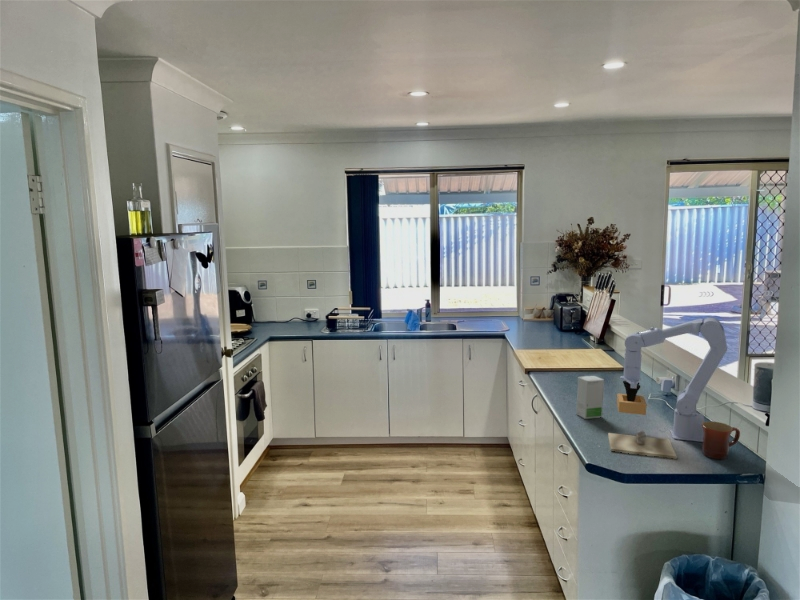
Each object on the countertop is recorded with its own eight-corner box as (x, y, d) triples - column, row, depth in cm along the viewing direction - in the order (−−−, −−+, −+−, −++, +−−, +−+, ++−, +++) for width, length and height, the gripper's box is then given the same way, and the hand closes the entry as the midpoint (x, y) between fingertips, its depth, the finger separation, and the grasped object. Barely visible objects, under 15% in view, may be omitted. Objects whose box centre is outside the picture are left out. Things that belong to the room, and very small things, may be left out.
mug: (709, 462, 170) (712, 431, 168) (693, 450, 178) (696, 421, 177) (746, 461, 170) (748, 431, 169) (728, 449, 179) (731, 420, 177)
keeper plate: (668, 442, 185) (670, 426, 184) (676, 459, 172) (677, 442, 171) (608, 435, 191) (608, 420, 190) (610, 451, 178) (611, 435, 177)
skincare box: (584, 419, 207) (586, 381, 204) (574, 413, 213) (576, 376, 211) (603, 417, 209) (605, 379, 207) (592, 411, 215) (594, 374, 213)
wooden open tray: (642, 405, 197) (643, 395, 196) (645, 415, 189) (646, 404, 188) (616, 403, 200) (617, 393, 199) (618, 412, 191) (619, 401, 191)
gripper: (619, 360, 203) (617, 394, 205) (622, 370, 190) (620, 406, 192) (639, 361, 201) (637, 395, 203) (643, 372, 188) (641, 408, 190)
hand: (630, 401), depth 197 cm, fingers closed on wooden open tray
